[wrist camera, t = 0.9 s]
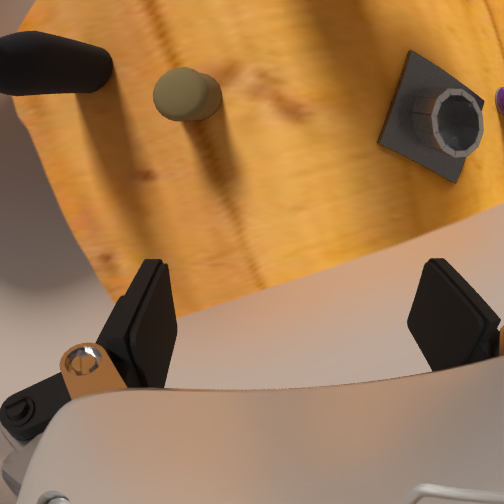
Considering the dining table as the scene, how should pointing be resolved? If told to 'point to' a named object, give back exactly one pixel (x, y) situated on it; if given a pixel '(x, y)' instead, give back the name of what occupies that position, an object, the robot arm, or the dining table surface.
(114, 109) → the dining table surface
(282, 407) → the robot arm
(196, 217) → the dining table surface
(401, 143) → the duct collar
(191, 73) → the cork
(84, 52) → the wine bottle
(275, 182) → the dining table surface
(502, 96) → the container
